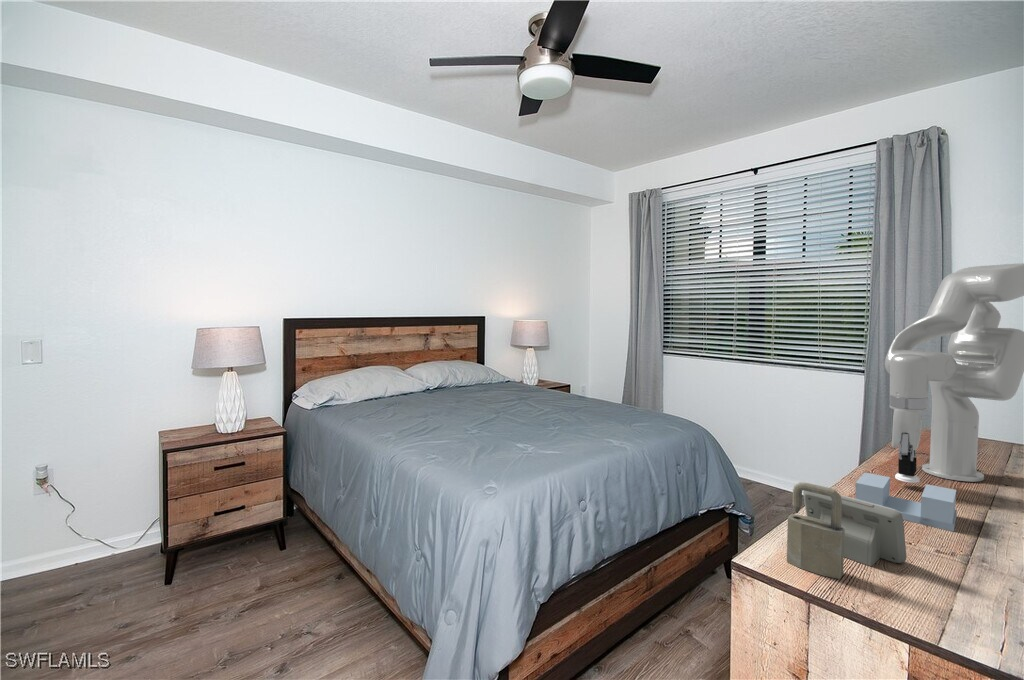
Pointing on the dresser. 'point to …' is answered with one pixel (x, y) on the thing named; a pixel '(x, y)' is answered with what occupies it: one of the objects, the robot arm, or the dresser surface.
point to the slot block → (930, 511)
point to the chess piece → (907, 477)
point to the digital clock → (863, 528)
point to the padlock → (816, 535)
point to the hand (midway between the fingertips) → (907, 472)
